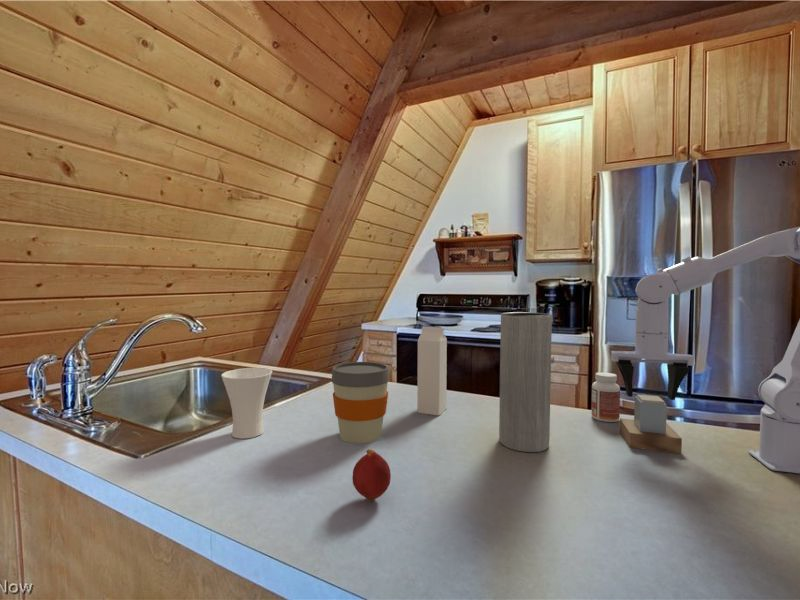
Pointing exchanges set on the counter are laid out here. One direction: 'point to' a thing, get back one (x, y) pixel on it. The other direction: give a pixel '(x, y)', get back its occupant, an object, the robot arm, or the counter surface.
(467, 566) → the counter surface
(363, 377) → the reusable coffee cup
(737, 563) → the counter surface
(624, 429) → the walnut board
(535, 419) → the vase
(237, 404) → the cup
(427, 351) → the milk
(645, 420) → the blue block cream face
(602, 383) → the pill bottle
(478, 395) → the counter surface
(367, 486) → the onion
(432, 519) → the counter surface
